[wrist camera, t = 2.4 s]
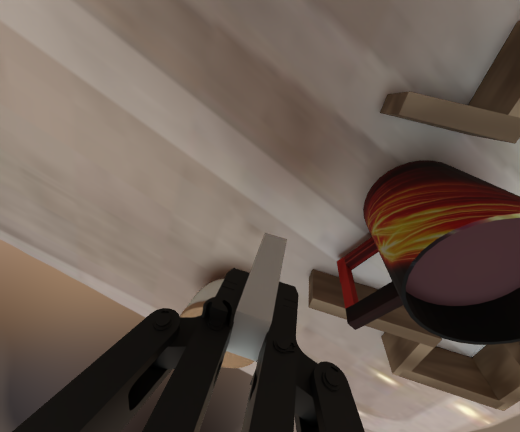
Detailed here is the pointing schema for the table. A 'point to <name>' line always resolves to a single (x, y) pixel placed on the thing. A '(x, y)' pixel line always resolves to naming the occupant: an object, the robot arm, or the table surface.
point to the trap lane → (398, 321)
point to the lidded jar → (196, 310)
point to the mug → (441, 254)
